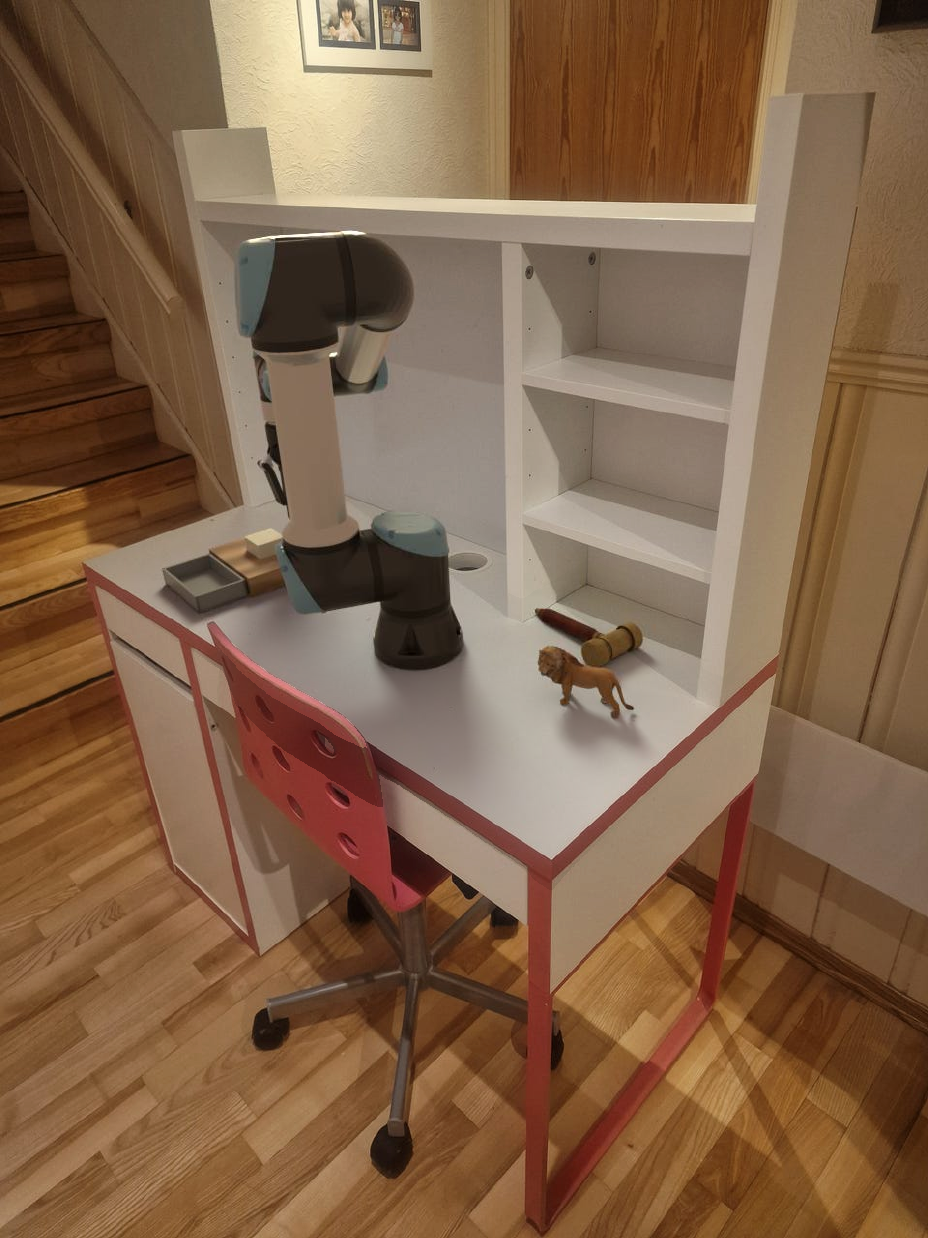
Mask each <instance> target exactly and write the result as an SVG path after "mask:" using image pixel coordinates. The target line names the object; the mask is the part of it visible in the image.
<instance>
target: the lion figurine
mask: <svg viewBox="0 0 928 1238" xmlns="http://www.w3.org/2000/svg"><path fill="white" fill-rule="evenodd" d="M538 653H539V655H538V661H537V665H538V668H537V669H538V672H540V675H541V676H542V677H547V678H549V679H551V682H552V683H554V684H557V685H561V690H562V691H561V692H562V693H561V694H562V695H563V698H561V699H560V700H559V703H560V704H561V705H562V706H566V705H568V704H569V702H570V701H571V693H572V692H573V691H572V690H573V686H575V687H576V688H577V687H578V688H580V689H584V690H585V689H586V690H591V689H597V691H598V693H599V694H600V696H601V698H600V702H601V703H603V704H608V705H609V706H610V707H612V708H613V710H612V711H610V712H609V713H610V717H611V718H612V719H617V718H619V716H620V714H621V709H620V703H619V702H617V700H616V699H615V696H614V694H613V690H614V688H616V691H617V693H618V697H619V699H620V702H621V704H622V706H623V707H624V708H626V710H628V711H633V710H635V707H634V706H633V705H631V704H628V703H627V702H625V697H624V695H623V691H622V687H621V684H620V681H619V679H618V678H617V677H616V675H615V673H614V672H613V671H612V670H610V669H608V668H607V667H599V668H597V667H591V666H589V665H588V664H583V663H581V662H580V661H579V659H578V658H577V657H576V656H574V654H571V652H568V651H566V649H563V648H561V647H558V646H553V645H551V646H550V645H547V646H545V647H544V648H542V649H539V652H538Z"/></svg>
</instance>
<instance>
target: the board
mask: <svg viewBox="0 0 928 1238" xmlns="http://www.w3.org/2000/svg"><path fill="white" fill-rule="evenodd" d="M209 553H210V554H211V555H213V556H214V557H215V558H217V559H218V560H219V561H221V562H222V563H224V564H225V565H226V566H228V567H229V568H230V569H232V570H233V571H234V572H236V573H237V574H238V575H240V576H241V577H242V578H244V579H245V580H246V585H247V591H248V596H250V597H251V598H255V597H257V596H260V595H262V594H266V593H268V592H271V591H274V590H276V589H279V588H282V587H286V584H285V581H284V578H283V575H282V571H281V568H280V565H279V562H278V559H277V555H273V556H270V557H267V558H264V559H261V560H260V559H259V558H257V557H256V556H254V555H253V554H252V553H250V552H249V551H247V549H246V544H245V539H244V537H242V538H239V539H235V540H234V541H230V542H226V543H223V544H221V545H217V546H214V547H210V548H208V554H209ZM270 590H271V591H270ZM267 591H268V592H267ZM265 592H266V593H265Z"/></svg>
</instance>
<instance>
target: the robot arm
mask: <svg viewBox="0 0 928 1238" xmlns="http://www.w3.org/2000/svg"><path fill="white" fill-rule="evenodd" d="M233 264H234V266H233V268H234V274H233V275H234V276H233V277H234V280H233V281H234V300H235V301H234V302H235V303H234V305H235V310H236V314H235V315H236V327H237V331H238V334H239V335H240V336H241V337H242V338H243V337H245V338H246V339H249V338H250V341H251V342H250V343H251V348H252V354H253V355H252V359H253V363H254V368H255V374H256V380H257V385H258V386H257V387H258V391H259V398H260V405H261V410H262V418H263V419H262V420H264V421H265V423H264V431H265V437H266V443H267V451H266V454H267V455H266V456H264V458H263V459H262V460H261V459H260V460H258V461H257V466H258V467H259V468H260V469H261V470H262V471H263V473H264V475H265V477H266V480H267V482H268V485H269V487H270V489H271V492H272V494H273V497H274V498H275V501H276V503H279V504H280V505H282V506H285V507H286V512H287V518H288V519H289V522H288V523H287V524H286V525H285V527H284V528H283V529H282V532H281V534H282V536H283V542H279V544H276V545H275V547H274V548H275V552H276V555H277V559H278V562H279V565H280V568H281V571H282V575H283V578H284V581H285V584H286V585H285V587H286V591H287V594H288V596H289V597H288V598H289V599H290V603H291V605H292V609H294V611H295V612H296V613H297V614H300V615H305V616H306V615H312V614H319V613H320V614H326V613H327V612H332V611H336V610H337V611H338V610H343V609H348V608H353V607H354V608H355V607H359V606H360V607H361V606H364V605H370V604H375V603H379V605H380V606H379V607H380V609H379V613H378V617H377V621H376V626H375V630H374V633H373V639H372V640H373V651H374V655H375V656H376V658H378V660H379V661H381V662H382V663H384V664H385V665H388V666H390V667H393V668H396V669H401V670H411V671H412V670H415V671H417V670H427V669H432V668H437V667H439V666H442V665H445V664H447V663H449V662H451V661H452V660H454V659H455V658H456V657H458V656H459V654H460V653H461V651H462V650H463V647H464V635H463V634H464V632H463V628H462V626H461V624H460V622H459V619H458V617H457V615H456V613H455V612H456V611H455V610H454V608H453V606H452V602H451V601H452V599H451V586H450V585H451V584H450V582H451V581H450V580H451V579H450V566H449V561H450V560H449V553H450V547H449V544H448V537H447V531H446V528H445V527H444V525H443V523H442V522H441V521H440V520H438V519H437V518H435V517H433V516H431V515H428V514H427V513H422V512H420V511H419V512H418V511H410V510H391V511H387V512H386V511H385V512H382V513H381V514H378V515H376V516H375V517H374V518H373V519H372V521H371V524H370V528H367V529H362V530H360V524H359V522H358V521H357V520H356V519H355V518H354V517H352V516H350V515H349V513H348V506H347V499H346V491H345V482H344V474H343V473H344V472H343V465H342V457H341V448H340V438H339V430H338V429H339V428H338V422H337V414H336V413H337V412H336V405H335V398H336V397H342V396H343V397H344V396H345V397H346V396H352V395H353V396H355V395H361V394H363V395H367V394H368V395H370V394H371V393H374V392H379V391H384V390H385V389H386V388H387V386H388V384H389V380H388V379H389V371H388V363H387V360H386V356H385V353H386V351H387V348H388V346H389V343H390V341H391V339H392V337H393V334H394V332H395V331H396V330H398V328H400V327H401V326H402V325H403V324H404V323H405V322H406V321H407V319H408V317H409V315H410V312H411V311H412V308H413V304H414V299H415V298H414V297H415V288H414V287H415V286H414V281H413V277H412V275H411V272H410V270H409V268H408V266H407V265H406V263H405V261H404V259H403V258H402V257H401V255H400V254H398V252H397V251H396V250H395V249H394V248H393V247H392V246H390V245H389V244H387V243H386V242H385V241H383V240H381V239H379V238H378V237H376V236H373V235H370V234H368V233H366V232H360V231H356V230H355V231H353V230H346V231H345V230H344V231H343V230H342V231H339V232H324V233H308V234H307V233H306V234H287V235H286V234H285V235H269V236H264V237H259V238H252V239H247V240H243V241H241V242H240V243H239V245H238V246H237V248H236V250H235V255H234V263H233ZM338 328H342V331H341V335H340V338H339V329H338ZM337 347H338V348H337ZM335 348H337V351H336V352H333V351H334V350H335ZM273 462H274V463H273ZM274 464H276V465H277V467H278V468H277V469H278V471H279V474H280V479H281V480H280V481H281V483H280V481H279V479H278V476H277V474H276V472H275V470H274Z"/></svg>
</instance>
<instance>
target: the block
mask: <svg viewBox="0 0 928 1238" xmlns="http://www.w3.org/2000/svg"><path fill="white" fill-rule="evenodd" d="M243 538H244V539H245V544H246V549H247V551H249V552H250V553H252V554H253V555H254V556H256V557H257V558H259V559H260V560H261V559H264V558H267V557H270V556H273V555H276V552H275V548H274V547H275V545H276V544H279V542H283V536H282V533H280V532H279V531H276V530H275V529H273V528H271V527H269V528H266V529H264V530H260V531H257V532H254V533H250V534H248V535H245V536H243Z"/></svg>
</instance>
